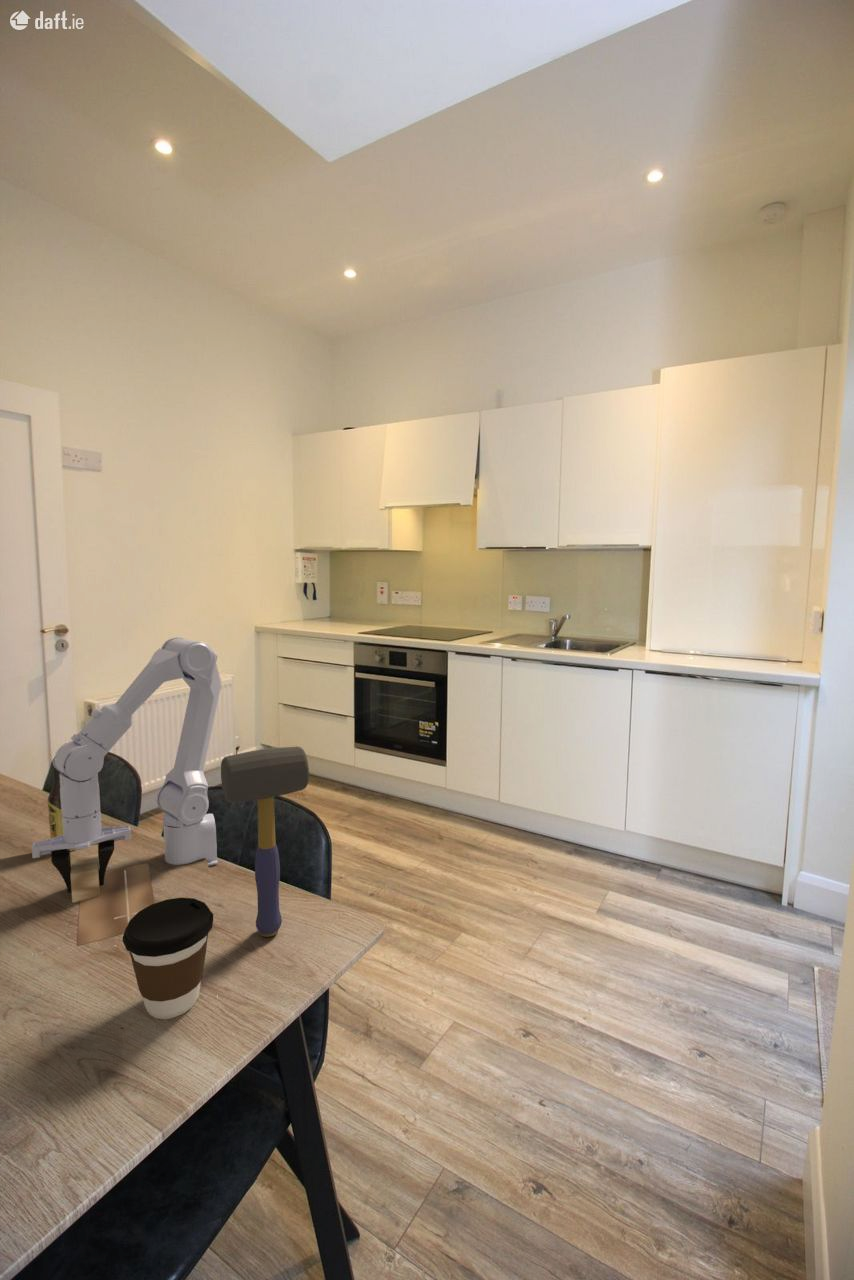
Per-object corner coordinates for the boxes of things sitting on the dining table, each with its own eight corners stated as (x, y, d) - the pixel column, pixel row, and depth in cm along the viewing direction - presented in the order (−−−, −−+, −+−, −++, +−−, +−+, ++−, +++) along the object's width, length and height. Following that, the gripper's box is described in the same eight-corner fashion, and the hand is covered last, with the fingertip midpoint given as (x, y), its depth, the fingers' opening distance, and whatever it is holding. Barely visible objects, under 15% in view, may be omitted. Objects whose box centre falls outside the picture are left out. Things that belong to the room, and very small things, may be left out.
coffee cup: (190, 963, 85) (187, 886, 84) (232, 998, 79) (229, 915, 77) (112, 1005, 77) (107, 921, 76) (151, 1049, 70) (146, 957, 69)
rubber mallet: (233, 958, 87) (226, 763, 83) (224, 930, 93) (217, 749, 90) (314, 933, 93) (311, 751, 89) (300, 909, 99) (297, 738, 95)
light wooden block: (100, 886, 105) (98, 853, 104) (100, 903, 100) (97, 868, 99) (74, 892, 103) (72, 859, 103) (72, 909, 98) (70, 874, 97)
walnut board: (148, 870, 111) (148, 862, 111) (158, 933, 92) (157, 924, 92) (82, 884, 106) (81, 877, 106) (77, 955, 87) (77, 945, 87)
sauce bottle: (54, 848, 120) (47, 755, 117) (89, 843, 122) (83, 751, 120) (49, 863, 114) (42, 765, 111) (86, 857, 116) (79, 760, 114)
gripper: (27, 829, 93) (33, 909, 94) (129, 811, 100) (133, 886, 101) (32, 813, 99) (38, 888, 101) (128, 797, 106) (132, 868, 107)
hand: (86, 886), depth 101 cm, fingers closed on light wooden block, 4 cm apart
